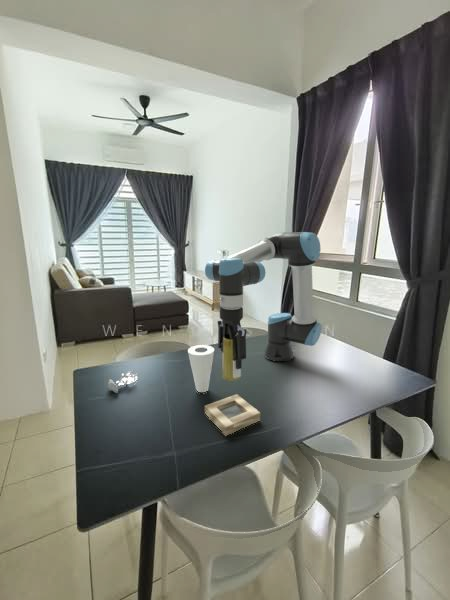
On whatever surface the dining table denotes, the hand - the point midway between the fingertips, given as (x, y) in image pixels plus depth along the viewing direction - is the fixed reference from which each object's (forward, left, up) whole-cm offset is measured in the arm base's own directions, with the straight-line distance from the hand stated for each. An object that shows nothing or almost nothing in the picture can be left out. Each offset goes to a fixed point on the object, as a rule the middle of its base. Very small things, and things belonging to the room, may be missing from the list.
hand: (231, 373), depth 96 cm
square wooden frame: (0, 0, -17) cm, 17 cm away
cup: (-22, 0, -17) cm, 28 cm away
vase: (0, 0, -2) cm, 2 cm away
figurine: (-42, -27, -18) cm, 53 cm away
